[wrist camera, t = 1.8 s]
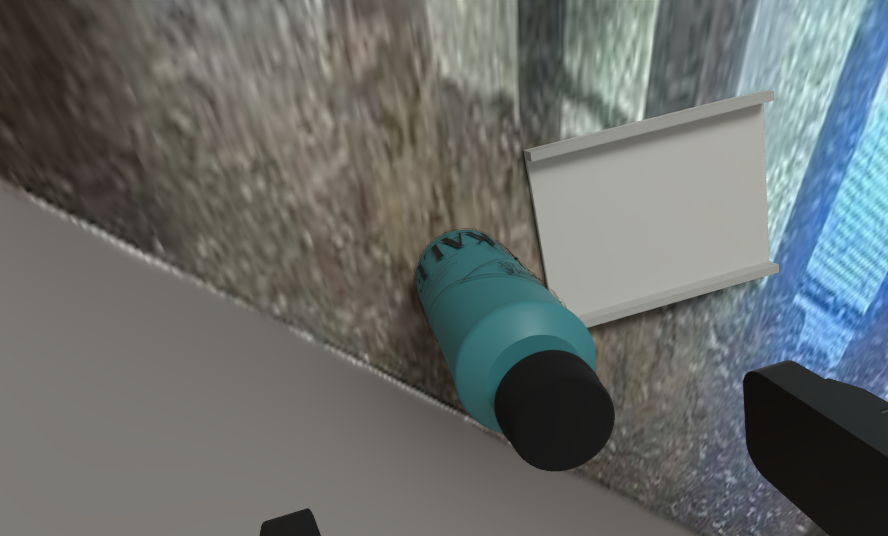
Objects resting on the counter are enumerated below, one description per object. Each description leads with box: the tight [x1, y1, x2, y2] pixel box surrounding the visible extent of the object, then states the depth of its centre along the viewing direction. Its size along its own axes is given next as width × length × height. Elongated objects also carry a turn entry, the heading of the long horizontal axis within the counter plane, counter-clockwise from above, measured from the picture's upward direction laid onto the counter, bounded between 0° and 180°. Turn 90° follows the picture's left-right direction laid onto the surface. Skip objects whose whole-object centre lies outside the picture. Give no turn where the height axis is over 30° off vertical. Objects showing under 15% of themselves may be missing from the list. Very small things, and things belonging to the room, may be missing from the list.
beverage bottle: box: [413, 228, 615, 471], centre depth 29 cm, size 6×7×20 cm
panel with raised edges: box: [523, 91, 779, 328], centre depth 39 cm, size 17×13×1 cm
